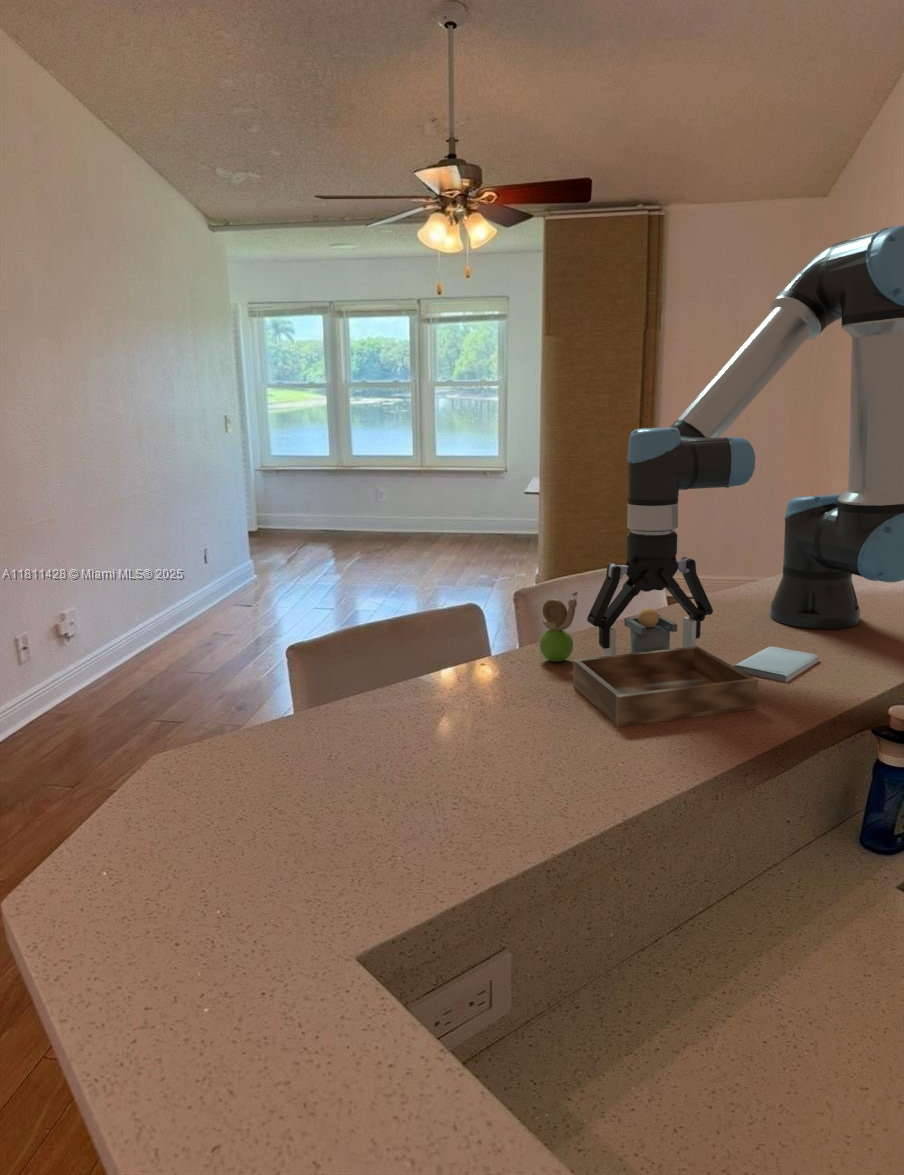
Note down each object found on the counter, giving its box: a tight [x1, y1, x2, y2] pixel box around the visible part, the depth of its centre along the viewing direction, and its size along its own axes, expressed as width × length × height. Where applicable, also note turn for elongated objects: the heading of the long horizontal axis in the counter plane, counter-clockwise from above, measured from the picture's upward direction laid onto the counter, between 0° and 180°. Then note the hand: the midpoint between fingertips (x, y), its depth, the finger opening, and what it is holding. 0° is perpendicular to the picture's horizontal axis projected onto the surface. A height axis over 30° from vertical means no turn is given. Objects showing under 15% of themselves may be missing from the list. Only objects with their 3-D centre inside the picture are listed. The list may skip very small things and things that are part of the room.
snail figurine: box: [539, 591, 578, 663], centre depth 128 cm, size 5×6×12 cm
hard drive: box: [733, 646, 820, 683], centre depth 123 cm, size 2×8×12 cm
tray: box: [572, 645, 759, 728], centre depth 112 cm, size 20×16×4 cm
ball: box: [637, 607, 659, 628], centre depth 125 cm, size 3×3×3 cm
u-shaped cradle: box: [623, 614, 678, 654], centre depth 125 cm, size 6×6×7 cm
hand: (649, 662), depth 126 cm, fingers open, 13 cm apart
